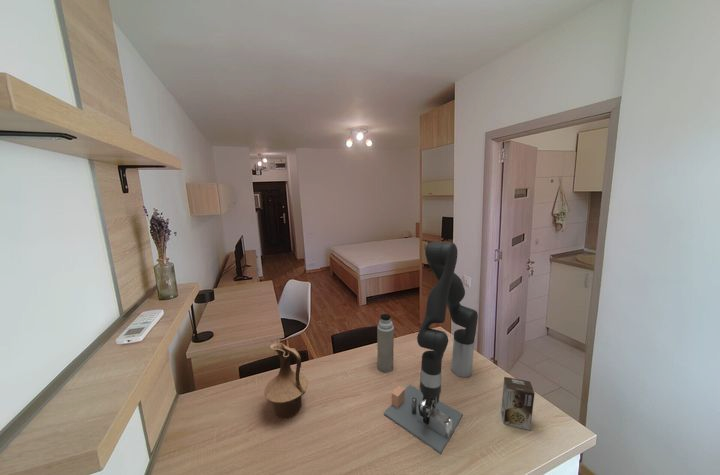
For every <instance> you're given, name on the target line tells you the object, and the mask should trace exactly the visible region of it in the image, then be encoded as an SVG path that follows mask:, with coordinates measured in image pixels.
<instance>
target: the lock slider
mask: <svg viewBox="0 0 720 475" xmlns="http://www.w3.org/2000/svg"><path fill="white" fill-rule="evenodd" d="M405 389H406V388H403V387H402V386H401V385H398V386H397V387H396V388H395V389H394V390H393V391H392V392H391V405H393V406H395V407H396V408H398V407H399V406H400V405H401V404H402V403H403V402H404V400H405Z"/></svg>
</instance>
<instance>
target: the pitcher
mask: <svg viewBox="0 0 720 475" xmlns="http://www.w3.org/2000/svg"><path fill="white" fill-rule="evenodd" d="M275 347H279V348H275ZM269 349H270V350H271V351H275V352H276V353H277V354H278V357H279V361H280V367H279V371H278V374H277V375H275V376H274V377H273V378H272V379H270V380H269V381H268V382H267V384H266V385H265V387H264V396H265V397H266V399H267V400H268V401H270V402H272V405H273V410H274V414H275V416H276V417H279V418H282V419H287V418H290V417H293V416H294V415H296V414H298V412H299V411H300V410H301V408H302V396H304V395H305V394H306V391H307V388H308V384H309V383H308V382H309V381H308V378H307V377H306V376H305V374H303V373H301V372H300V371H301V367H302V358H301V355H300V353H299V352H298V351H297V350H296V348H293V347H292V348H291V347H289V346H287V345H285V344H284V343H282V342H274V343H272V344H270V346H269ZM291 357H294V358H295V361H296V366H295V367H296V368H295V371H293V369H292V368H291V362H290V361H291Z"/></svg>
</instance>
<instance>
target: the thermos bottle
mask: <svg viewBox="0 0 720 475" xmlns="http://www.w3.org/2000/svg"><path fill="white" fill-rule="evenodd" d="M393 324H394V323H393V321H392V320H391V315H390V314H389V313H383V314H380V320H379V321H378V324H377V327H376V328H377V331H376V332H377V334H376V335H377V336H376V338H377V341H376V342H377V344H376V345H377V360H376V361H377V362H376V364H377V366H376V367H377V369H378V371H379V372H381V373H386V374H387V373H390V372H392V371H393V370H394V347H395V346H394V345H395V343H394V341H395V336H394V335H395V334H394V333H395V326H394V325H393Z"/></svg>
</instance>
